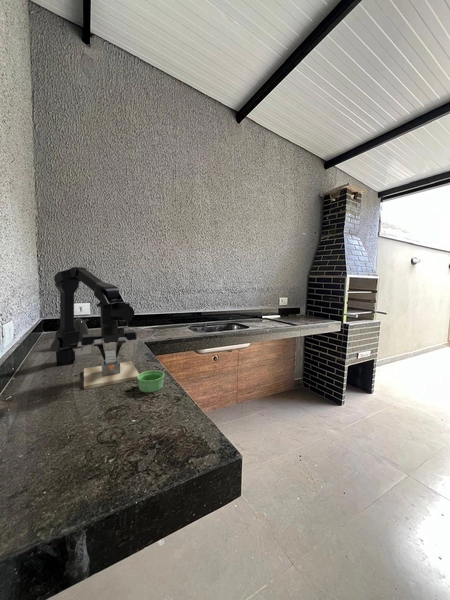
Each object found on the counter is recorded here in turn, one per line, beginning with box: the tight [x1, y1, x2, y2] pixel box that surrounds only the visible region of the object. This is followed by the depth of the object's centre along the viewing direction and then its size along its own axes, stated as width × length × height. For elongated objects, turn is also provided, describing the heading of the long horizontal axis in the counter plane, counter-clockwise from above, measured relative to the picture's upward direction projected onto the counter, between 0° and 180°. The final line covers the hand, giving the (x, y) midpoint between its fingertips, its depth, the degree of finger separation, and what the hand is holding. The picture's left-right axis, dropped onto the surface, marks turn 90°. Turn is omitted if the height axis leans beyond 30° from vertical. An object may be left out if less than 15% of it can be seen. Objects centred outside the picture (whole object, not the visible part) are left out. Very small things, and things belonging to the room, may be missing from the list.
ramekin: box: [136, 369, 165, 393], centre depth 82 cm, size 9×9×4 cm
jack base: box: [83, 358, 140, 390], centre depth 92 cm, size 18×18×5 cm
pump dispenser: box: [74, 318, 90, 348], centre depth 130 cm, size 10×10×15 cm
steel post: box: [104, 349, 116, 365], centre depth 92 cm, size 4×4×7 cm
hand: (110, 359), depth 92 cm, fingers closed on steel post, 4 cm apart
